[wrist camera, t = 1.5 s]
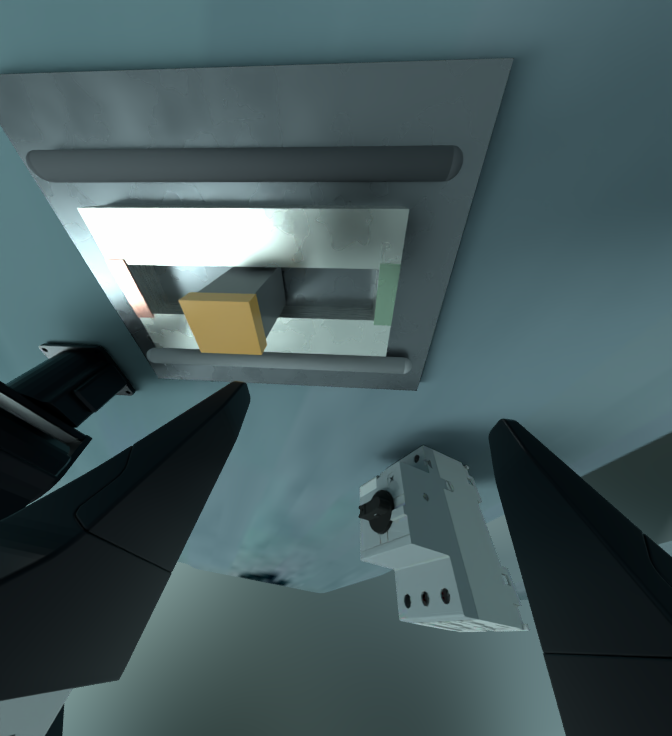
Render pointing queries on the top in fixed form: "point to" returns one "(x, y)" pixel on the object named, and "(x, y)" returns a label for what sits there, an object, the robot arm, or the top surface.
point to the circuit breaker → (437, 546)
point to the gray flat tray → (256, 167)
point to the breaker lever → (236, 310)
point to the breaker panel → (270, 200)
